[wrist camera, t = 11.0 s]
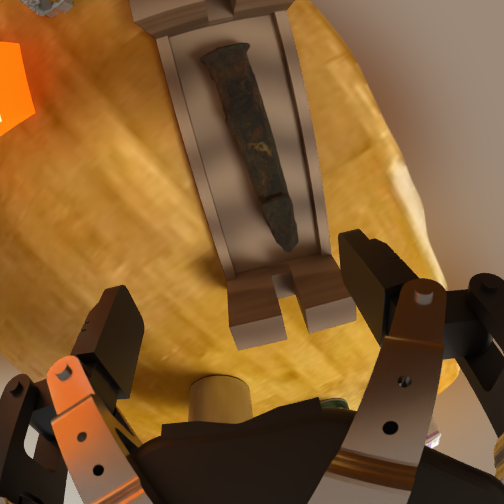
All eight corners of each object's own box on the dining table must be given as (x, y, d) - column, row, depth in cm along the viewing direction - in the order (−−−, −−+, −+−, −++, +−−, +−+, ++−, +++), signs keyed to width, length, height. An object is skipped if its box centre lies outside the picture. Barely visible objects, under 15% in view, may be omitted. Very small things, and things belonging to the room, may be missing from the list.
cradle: (328, 268, 35) (356, 320, 27) (233, 292, 35) (238, 350, 27) (274, -11, 20) (296, -50, 12) (153, 15, 20) (125, -14, 12)
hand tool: (200, 57, 22) (196, 50, 18) (246, 45, 22) (251, 35, 18) (257, 246, 31) (263, 271, 27) (296, 235, 31) (307, 259, 27)
